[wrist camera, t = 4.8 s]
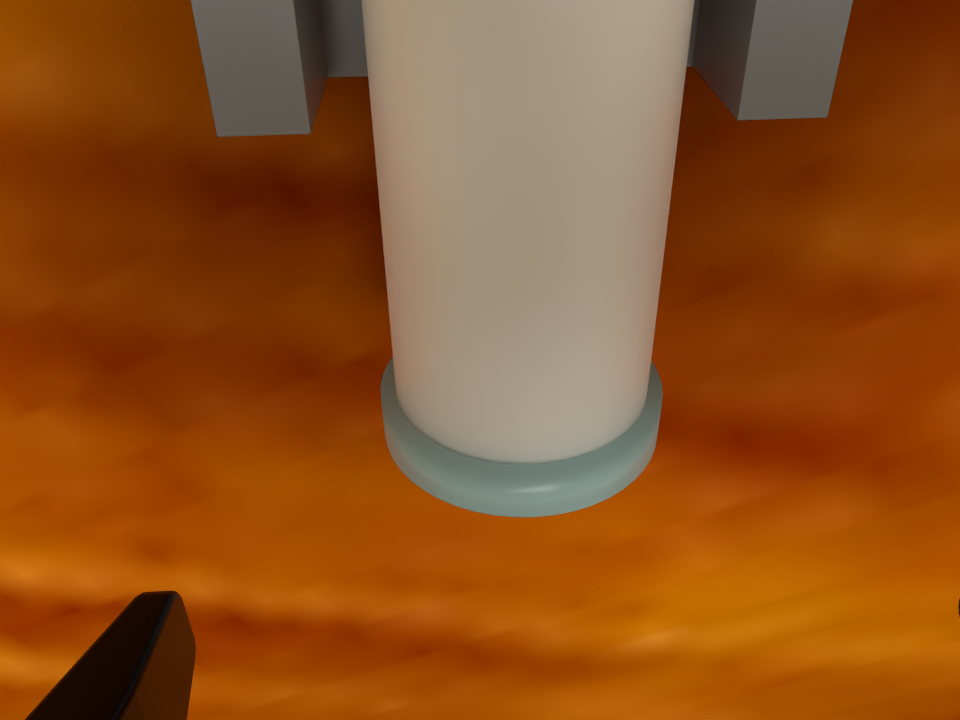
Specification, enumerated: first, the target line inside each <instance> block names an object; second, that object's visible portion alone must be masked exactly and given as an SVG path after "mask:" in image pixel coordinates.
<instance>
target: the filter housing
mask: <svg viewBox="0 0 960 720" xmlns="http://www.w3.org/2000/svg"><path fill="white" fill-rule="evenodd" d="M852 3H853V0H694V8H693V17H692V25H691V33H690V41H689V50H688V58H687V66H686V67H690V66H692V67H693V68H694V69H695V70H696V72H697V73H698V74H699V75H700V76H701V77H702V79H703V80H704V81H705V82H706V83H707V85H708V86H709V87H710V88H711V89H712V91H713V92H714V93H715V94H716V95H717V96H718V98H719V99H720V100H721V101H722V102H723V104H724V105H725V106H726V107H727V108H728V110H729V111H730V112H731V113H732V114H733V115H734V117H735V118H736V119H737V120H761V119H792V118H824V117H828V112H829V107H830V103H831V98H832V94H833V89H834V85H835V80H836V76H837V71H838V66H839V62H840V57H841V53H842V48H843V44H844V39H845V35H846V30H847V25H848V21H849V16H850V12H851V7H852ZM191 4H192V10H193V15H194V20H195V25H196V30H197V35H198V40H199V45H200V51H201V56H202V61H203V66H204V71H205V76H206V81H207V86H208V92H209V97H210V102H211V107H212V112H213V117H214V122H215V127H216V132H217V137H225V136H256V135H288V134H311V131H312V128H313V124H314V121H315V118H316V115H317V111H318V108H319V105H320V102H321V99H322V95H323V92H324V89H325V86H326V82H327V79H328V77H353V76H368V69H367V58H366V47H365V35H364V24H363V13H362V1H361V0H191Z"/></svg>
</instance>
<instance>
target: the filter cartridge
mask: <svg viewBox="0 0 960 720" xmlns="http://www.w3.org/2000/svg"><path fill="white" fill-rule="evenodd" d="M361 1H362V13H363V24H364V35H365V47H366V58H367V69H368V81H369V92H370V103H371V114H372V126H373V137H374V148H375V160H376V171H377V182H378V194H379V205H380V216H381V228H382V239H383V250H384V262H385V273H386V284H387V295H388V307H389V318H390V329H391V341H392V352H393V357H392V358H391V360H390V361H389V363H388V364H387V366H386V369H385V371H384V374H383V377H382V382H381V402H382V411H383V421H384V431H385V438H386V442H387V447H388V449H389V452H390V454H391V456H392V458H393V460H394V461H395V463H396V464H397V465H398V467H399V468H400V470H401V471H402V472H403V473H404V474H405V475H406V476H407V477H408V478H409V479H410V480H411V481H412V482H414V483H415V484H416V485H418V486H419V487H420V488H422V489H423V490H424V491H426V492H428V493H430V494H431V495H433V496H435V497H437V498H438V499H441V500H443V501H445V502H448V503H450V504H452V505H455V506H458V507H461V508H464V509H468V510H471V511H475V512H480V513H485V514H490V515H497V516H508V517H540V516H550V515H557V514H562V513H567V512H573V511H576V510H579V509H582V508H586V507H589V506H592V505H594V504H597V503H599V502H601V501H603V500H606V499H608V498H610V497H611V496H613V495H615V494H616V493H618V492H620V491H621V490H623V489H624V488H625V487H627V486H628V485H629V484H630V483H632V482H633V481H634V480H635V479H636V478H637V477H638V476H639V475H640V474H641V473H642V471H643V470H644V469H645V467H646V466H647V464H648V463H649V461H650V460H651V457H652V455H653V452H654V450H655V446H656V441H657V435H658V427H659V420H660V412H661V405H662V397H663V396H662V384H661V380H660V376H659V373H658V371H657V369H656V367H655V365H654V364H653V362H652V361H651V357H652V349H653V341H654V332H655V324H656V316H657V307H658V299H659V291H660V283H661V274H662V266H663V258H664V249H665V241H666V233H667V224H668V216H669V208H670V199H671V191H672V183H673V174H674V166H675V158H676V150H677V141H678V133H679V125H680V116H681V108H682V100H683V91H684V83H685V75H686V66H687V58H688V50H689V41H690V33H691V25H692V17H693V8H694V0H361Z"/></svg>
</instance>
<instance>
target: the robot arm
mask: <svg viewBox="0 0 960 720" xmlns="http://www.w3.org/2000/svg"><path fill="white" fill-rule="evenodd" d="M959 615H960V599H959ZM195 651H196V648H195V638H194V634H193V631H192V628H191V625H190V622H189V619H188V616H187V613H186V609H185V606H184V603H183V600H182V598H181V596H180V595H179V594H178V593H177V592H176V591H157V592H144V593H141V594H139V595H138V596H137V597H135V598H134V599H133V600H132V601H131V602H130V604H129V605H128V606H127V607H126V608H125V609H124V610H123V611H122V612H121V614H120V615H119V616H118V617H117V618H116V619H115V620H114V621H113V622H112V623H111V625H110V626H109V627H108V628H107V629H106V630H105V631H104V632H103V633H102V635H101V636H100V637H99V638H98V639H97V640H96V641H95V642H94V643H93V645H92V646H91V647H90V648H89V649H88V650H87V651H86V652H85V653H84V654H83V656H82V657H81V658H80V659H79V660H78V661H77V662H76V663H75V664H74V666H73V667H72V668H71V669H70V670H69V671H68V672H67V673H66V674H65V676H64V677H63V678H62V679H61V680H60V681H59V682H58V683H57V684H56V685H55V687H54V688H53V689H52V690H51V691H50V692H49V693H48V694H47V695H46V697H45V698H44V699H43V700H42V701H41V702H40V703H39V704H38V705H37V707H36V708H35V709H34V710H33V711H32V712H31V713H30V714H29V715H28V716H27V718H26V719H25V720H187V714H188V706H189V699H190V692H191V685H192V677H193V670H194V663H195Z"/></svg>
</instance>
